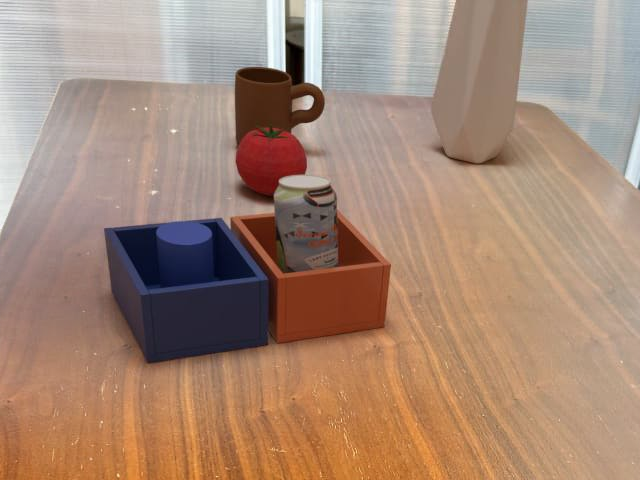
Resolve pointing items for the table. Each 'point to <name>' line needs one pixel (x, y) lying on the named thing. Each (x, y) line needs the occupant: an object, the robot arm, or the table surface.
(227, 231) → the blue bin
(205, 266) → the blue cylinder
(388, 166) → the table surface
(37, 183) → the table surface
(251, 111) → the mug
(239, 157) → the tomato
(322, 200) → the beverage can
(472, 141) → the vase
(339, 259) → the terracotta bin
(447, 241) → the table surface
